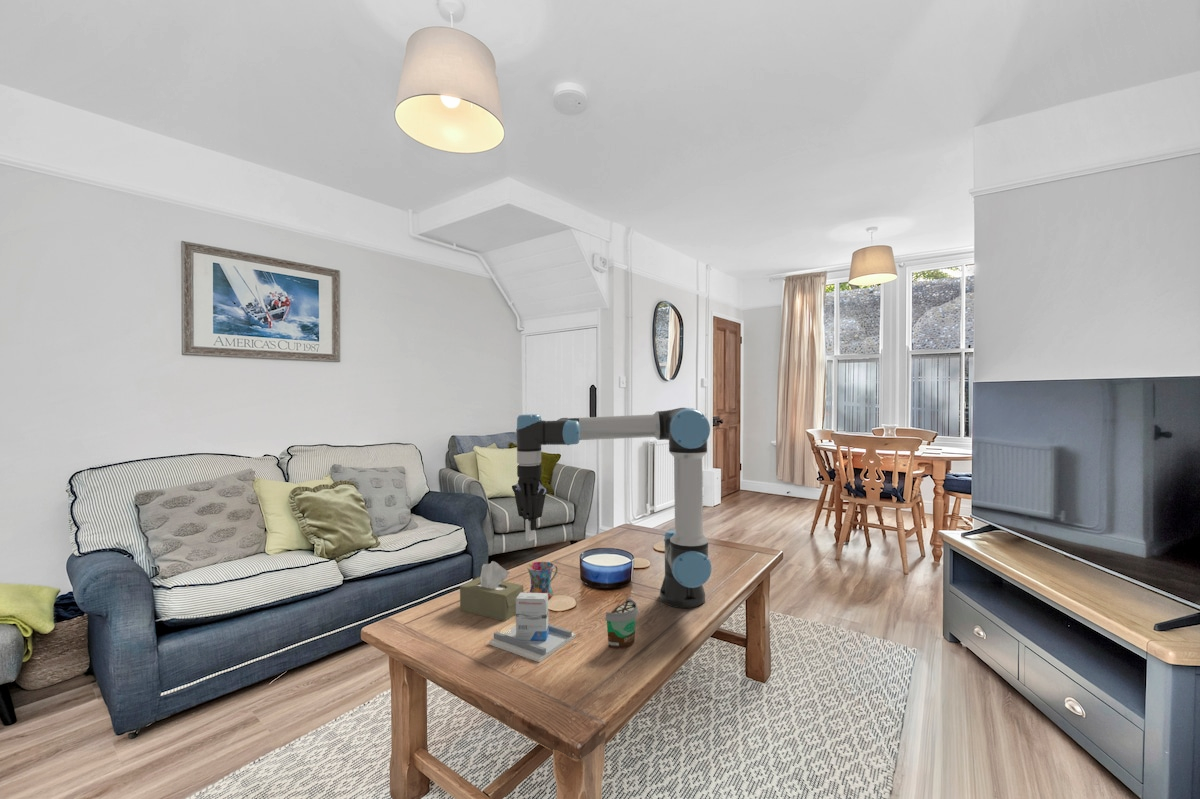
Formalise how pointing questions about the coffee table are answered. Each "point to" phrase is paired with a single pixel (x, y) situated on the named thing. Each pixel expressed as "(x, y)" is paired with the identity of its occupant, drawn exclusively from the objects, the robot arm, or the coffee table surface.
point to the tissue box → (490, 594)
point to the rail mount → (533, 643)
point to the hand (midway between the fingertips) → (530, 539)
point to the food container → (622, 625)
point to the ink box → (532, 616)
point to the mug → (541, 577)
